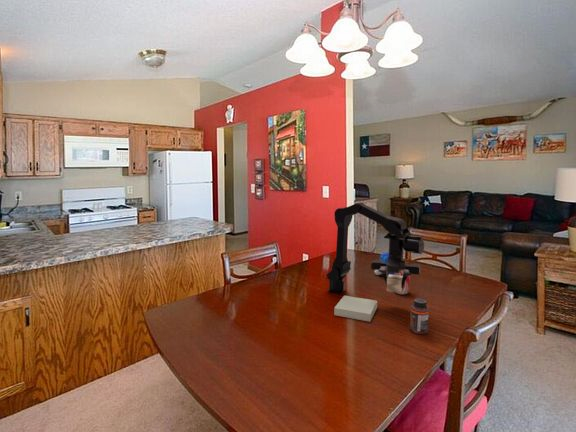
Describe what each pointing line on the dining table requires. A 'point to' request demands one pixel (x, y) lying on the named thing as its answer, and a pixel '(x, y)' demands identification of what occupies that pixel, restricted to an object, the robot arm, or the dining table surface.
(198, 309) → the dining table surface
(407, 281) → the soda can
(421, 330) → the supplement bottle
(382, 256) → the mushroom
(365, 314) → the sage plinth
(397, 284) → the maple cube
